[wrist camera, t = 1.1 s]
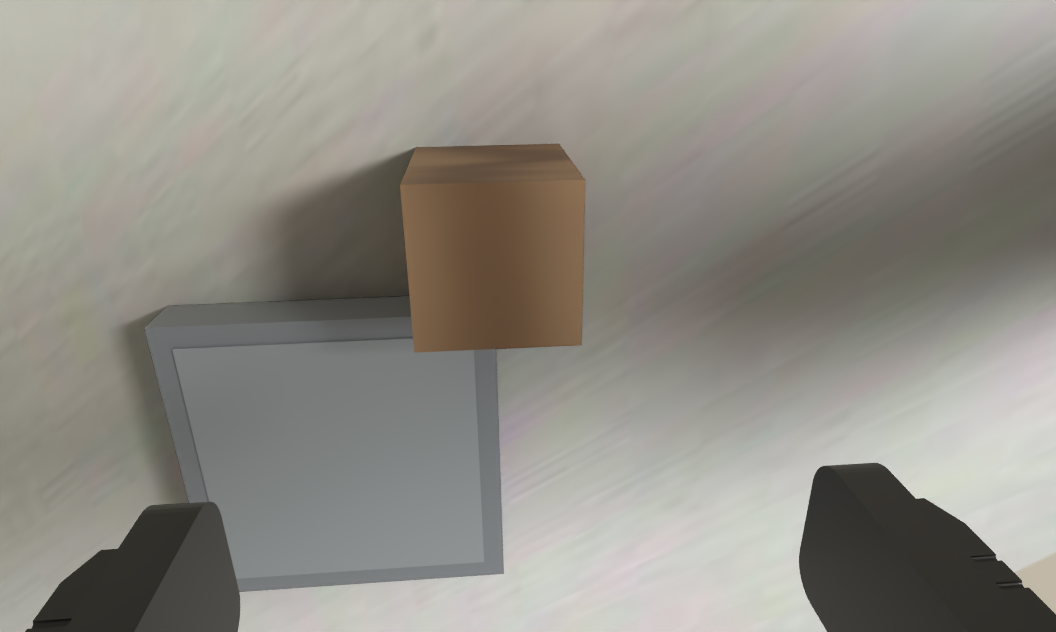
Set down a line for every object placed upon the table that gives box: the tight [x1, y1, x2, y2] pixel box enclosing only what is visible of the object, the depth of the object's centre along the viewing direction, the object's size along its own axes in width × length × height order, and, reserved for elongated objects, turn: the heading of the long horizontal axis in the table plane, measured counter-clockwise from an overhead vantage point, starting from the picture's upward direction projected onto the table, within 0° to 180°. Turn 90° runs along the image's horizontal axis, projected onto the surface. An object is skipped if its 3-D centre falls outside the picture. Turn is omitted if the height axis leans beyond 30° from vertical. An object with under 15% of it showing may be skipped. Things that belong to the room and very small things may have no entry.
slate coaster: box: [144, 296, 504, 592], centre depth 27 cm, size 12×12×2 cm
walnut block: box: [400, 144, 585, 353], centre depth 22 cm, size 5×5×6 cm
